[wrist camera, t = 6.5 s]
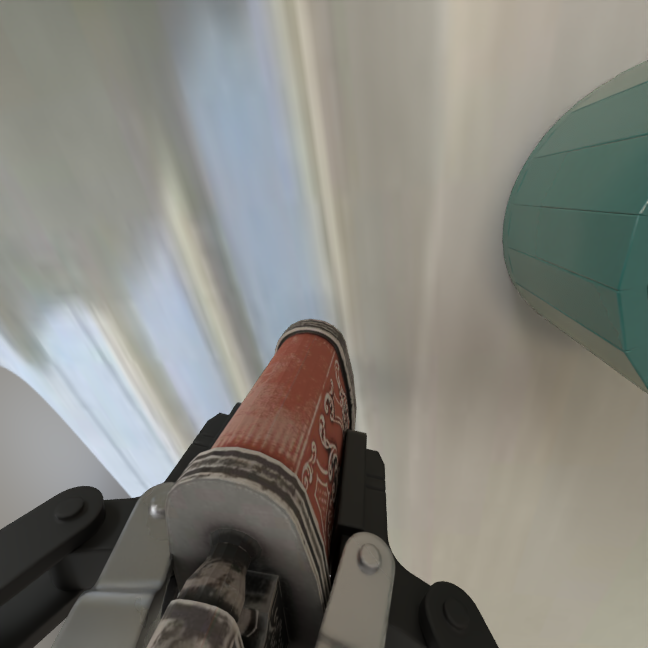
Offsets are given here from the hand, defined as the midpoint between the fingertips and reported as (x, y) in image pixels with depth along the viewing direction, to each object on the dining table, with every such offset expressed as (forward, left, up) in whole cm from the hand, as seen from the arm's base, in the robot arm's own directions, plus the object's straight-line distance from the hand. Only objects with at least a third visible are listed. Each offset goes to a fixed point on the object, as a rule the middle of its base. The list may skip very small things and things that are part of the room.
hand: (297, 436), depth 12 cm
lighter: (0, 0, -2) cm, 2 cm away
